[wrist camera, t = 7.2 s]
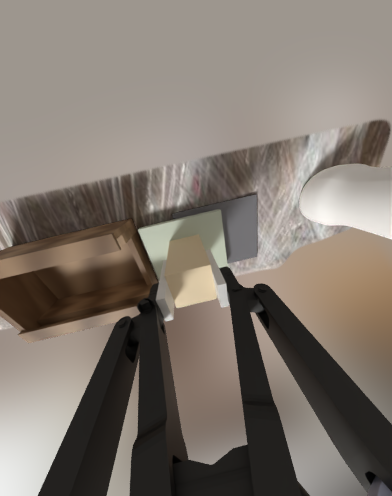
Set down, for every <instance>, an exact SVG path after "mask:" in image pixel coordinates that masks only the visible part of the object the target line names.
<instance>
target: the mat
mask: <svg viewBox="0 0 392 496" xmlns="http://www.w3.org/2000/svg"><path fill="white" fill-rule="evenodd" d="M217 209H220V210H221V215H222V223H223V231H224V240H225V248H226V256H227V264H228V263H232V262H236V261H241V260H245V259H249V258H253V257H257V194H254V195H250V196H246V197H241V198H237V199H233V200H229V201H224V202H220V203H216V204H212V205H207V206H203V207H199V208H194V209H190V210H186V211H182V212H177V213H173V214H172V215H173V219H179V218H183V217H187V216H192V215H196V214H200V213H204V212H209V211H213V210H217Z"/></svg>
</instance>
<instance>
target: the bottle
mask: <svg viewBox="0 0 392 496" xmlns="http://www.w3.org/2000/svg"><path fill="white" fill-rule="evenodd" d="M299 207H300V211H301V212H302V214H303V215H304V216H305V217H306V218H308V219H309V220H311V221H314V222H317V223H320V224H324V225H331V226H333V225H347V226H350V227H354V228H357V229H361V230H364V231H367V232H370V233H373V234H377V235H379V236H383V237H386V238H389V239H392V167H371V166H368V165H365V164H344V165H337V166H333V167H330V168H327V169H324V170H322V171H320V172H319V173H317V174H316V175H314V176H313V177H312V178H311V179H310V180H309V181H308V182H307V184H306V185H305V186H304V188H303V190H302V192H301V195H300V198H299Z"/></svg>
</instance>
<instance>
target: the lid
mask: <svg viewBox="0 0 392 496" xmlns="http://www.w3.org/2000/svg"><path fill="white" fill-rule="evenodd" d="M138 231H139V234H140V236H141V239H142V241H143V243H144V246H145V248H146V251H147V253H148V255H149V258H150V260H151V263H152V265H153V267H154V270H155V272H156V275H157V277H158V279H159V281H160V276H161V270H162V265H163V260H167V261H166V268H165V274H164V276H165V279H166V282H167V284H168V287H169V289H170V292H171V294H172V297H173V300H174V302H175V305H176V307H177V308H180V307H184V306H189V305H192V304H196V303H201V302H205V301H209V300H213V299H217V295H216V290H215V285H214V280H213V274H212V269H211V264H210V261H209V259H208V256H207V254H206V251H205V250H209V249H210V250H211V252H212V254H213V256H214V259H215V261H216V263H217V265H218V267H219V268H221V267H226V266H227V267H228V264H227V256H226V248H225V240H224V231H223V223H222V215H221V210H220V209H217V210H213V211H209V212H204V213H200V214H196V215H192V216H187V217H183V218H179V219H174V220H170V221H166V222H162V223H157V224H153V225H149V226H144V227H140V228H139V229H138Z"/></svg>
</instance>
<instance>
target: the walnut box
mask: <svg viewBox="0 0 392 496" xmlns="http://www.w3.org/2000/svg"><path fill="white" fill-rule="evenodd" d="M156 283H159V282H158V279H157V277H156V275H155V272H154V270H153V267H152V265H151V263H150V260H149V258H148V256H147V253H146V251H145V248H144V246H143V244H142V241H141V239H140V237H139V234H138V232H137V230H136V227H135V225H134V222H133V220H132V218H131V219H127V220H122V221H118V222H114V223H110V224H105V225H101V226H97V227H92V228H88V229H84V230H80V231H75V232H71V233H67V234H62V235H58V236H54V237H50V238H45V239H41V240H37V241H32V242H28V243H24V244H20V245H15V246H11V247H9V248H6V249H4V250H1V251H0V316H1V317H2V318H4V319H5V320H6V321H7V322H9V323H10V324H11V325H12V326H14V327H15V328H16V329H18V330H19V331H20V333H19V334H18V335H19V336H20V337H21V338H22V339H24V340H25V341H27V342H28V343H32V342H36V341H40V340H44V339H48V338H52V337H56V336H61V335H65V334H69V333H73V332H77V331H81V330H85V329H90V328H93V327H98V326H101V325H106V324H110V323H114V322H118V321H119V320H120V319H121V318H123V317H125V316H129V317H131V318H133V317H135V316H137V315H139V314H140V312H139V310H138V308H137V304H138V303H139V302H140V301H141V300H142V299H144V298H147V297H148V296H149V292H150V288H151V287H152V285H153V284H156Z"/></svg>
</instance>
